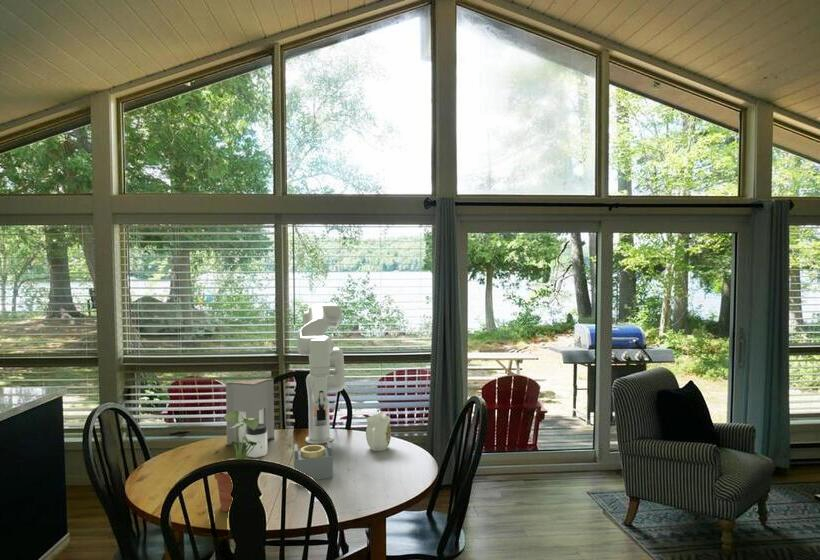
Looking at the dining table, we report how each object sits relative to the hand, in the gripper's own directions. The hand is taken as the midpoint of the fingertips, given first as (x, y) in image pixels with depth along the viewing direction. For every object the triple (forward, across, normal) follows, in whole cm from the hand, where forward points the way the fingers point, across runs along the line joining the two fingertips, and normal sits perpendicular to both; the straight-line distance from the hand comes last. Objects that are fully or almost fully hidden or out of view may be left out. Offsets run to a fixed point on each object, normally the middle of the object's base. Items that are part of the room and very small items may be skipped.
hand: (320, 417), depth 197 cm
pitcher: (+22, -21, +26) cm, 40 cm away
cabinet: (+22, -45, -27) cm, 57 cm away
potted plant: (+22, +20, -29) cm, 41 cm away
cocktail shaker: (+2, 0, 0) cm, 2 cm away
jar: (+22, -30, -24) cm, 44 cm away
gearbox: (+21, 0, -3) cm, 22 cm away
